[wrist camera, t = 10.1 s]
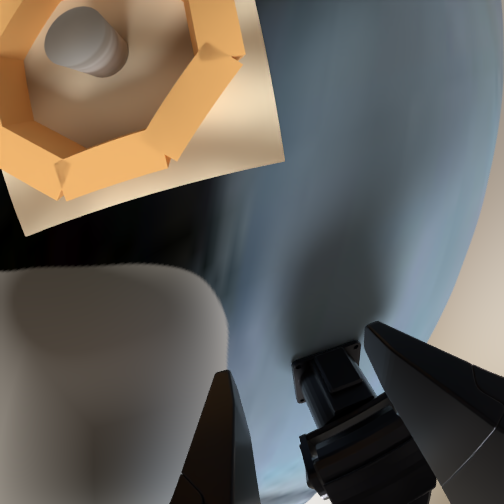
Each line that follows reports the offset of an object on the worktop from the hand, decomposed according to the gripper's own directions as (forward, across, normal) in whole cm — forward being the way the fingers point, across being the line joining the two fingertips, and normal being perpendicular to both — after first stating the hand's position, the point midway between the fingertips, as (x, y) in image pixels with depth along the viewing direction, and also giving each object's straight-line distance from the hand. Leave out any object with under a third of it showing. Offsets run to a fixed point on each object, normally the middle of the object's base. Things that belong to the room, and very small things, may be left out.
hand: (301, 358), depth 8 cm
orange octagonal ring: (+10, +5, -11) cm, 16 cm away
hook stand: (+11, +5, -11) cm, 17 cm away
